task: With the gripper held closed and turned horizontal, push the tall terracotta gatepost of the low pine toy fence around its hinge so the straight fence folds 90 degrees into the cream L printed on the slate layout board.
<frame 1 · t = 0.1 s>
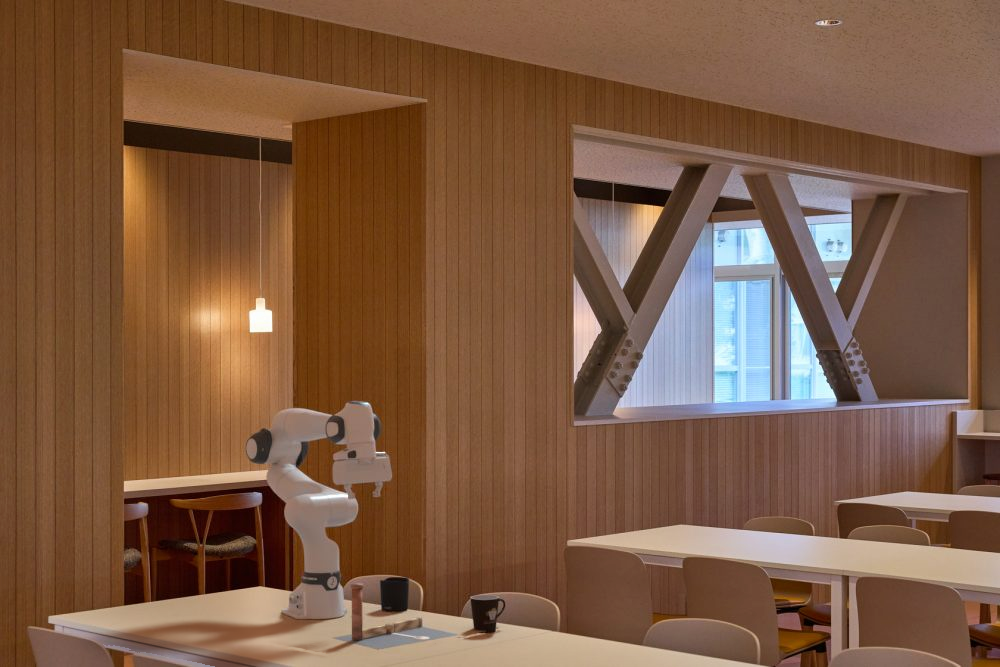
hand: (364, 498, 383), 39 cm above the table, tool pointing down, fingers open, 8 cm apart
coffee mug: (489, 631, 371), on the table
fence gate: (368, 609, 359), point 9 cm above the table, hinge at 0.0°
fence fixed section: (389, 632, 365), resting on layout board
pen holder: (394, 610, 408), on the table
layout board: (395, 638, 360), on the table
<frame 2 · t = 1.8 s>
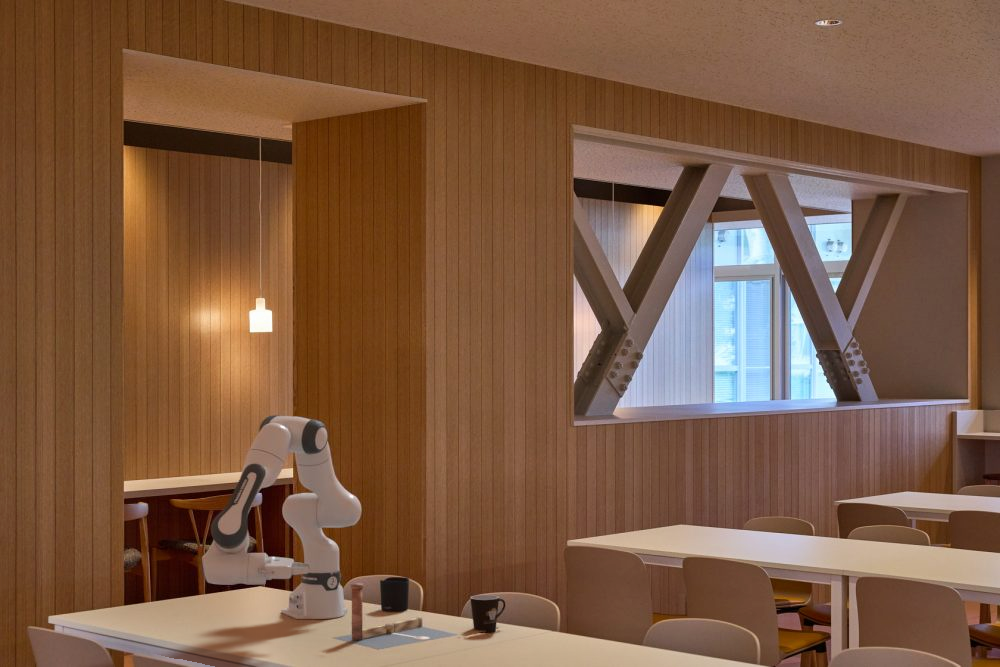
hand: (308, 568, 355), 21 cm above the table, tool horizontal, fingers open, 8 cm apart
nothing on the table moved.
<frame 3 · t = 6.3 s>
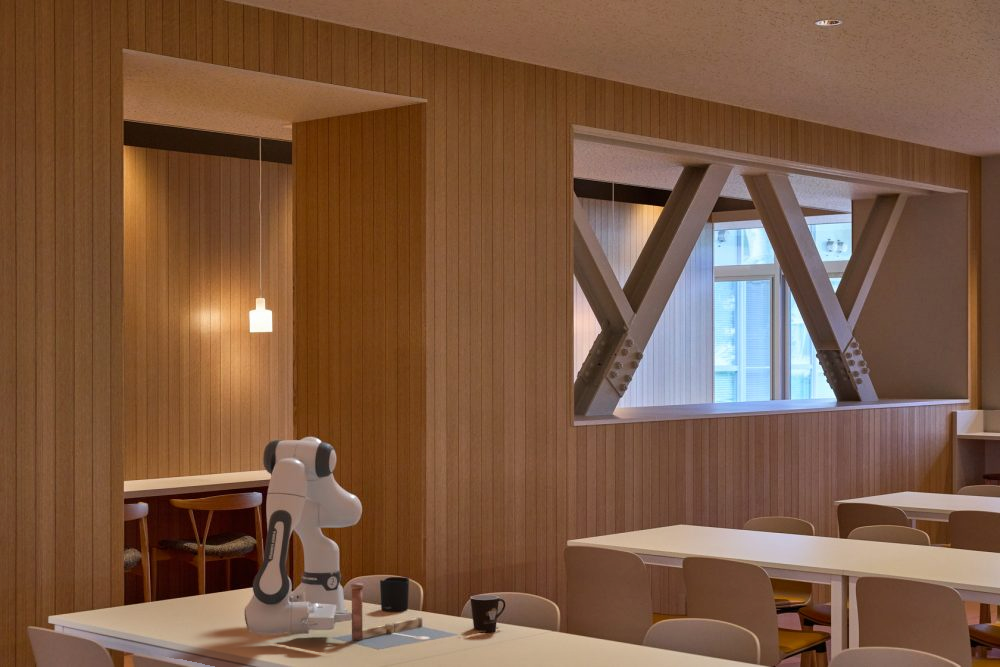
hand: (351, 616, 355), 8 cm above the table, tool horizontal, fingers closed, pressing on fence gate
fence gate: (368, 609, 359), point 9 cm above the table, hinge at 0.0°, touching gripper
everything else where it was.
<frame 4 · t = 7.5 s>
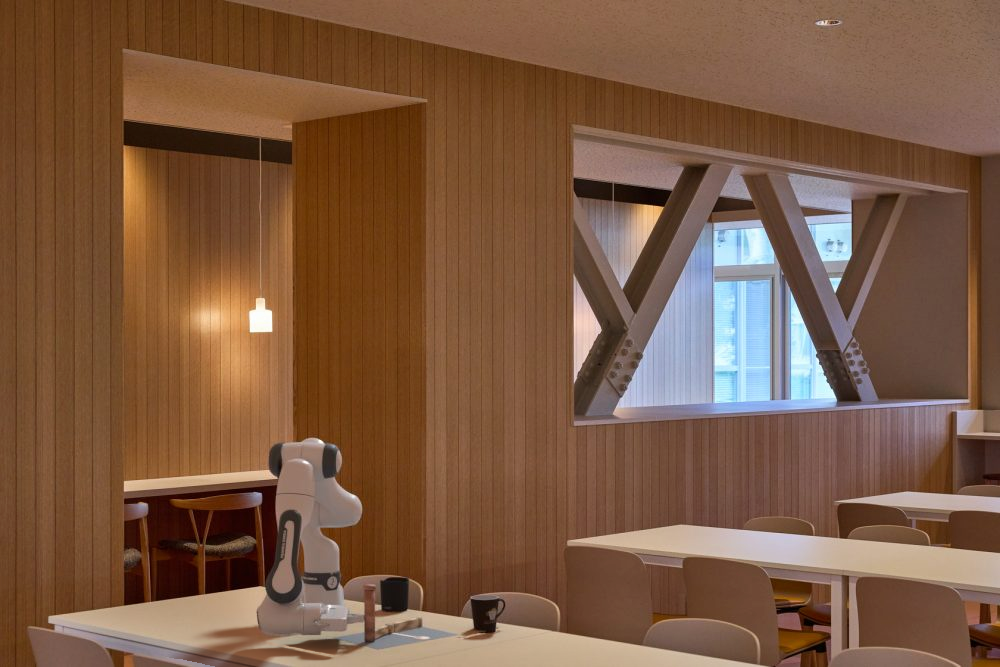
hand: (364, 618, 353), 8 cm above the table, tool horizontal, fingers closed, pressing on fence gate
fence gate: (377, 610, 358), point 9 cm above the table, hinge at 19.7°, touching gripper
everything else where it was.
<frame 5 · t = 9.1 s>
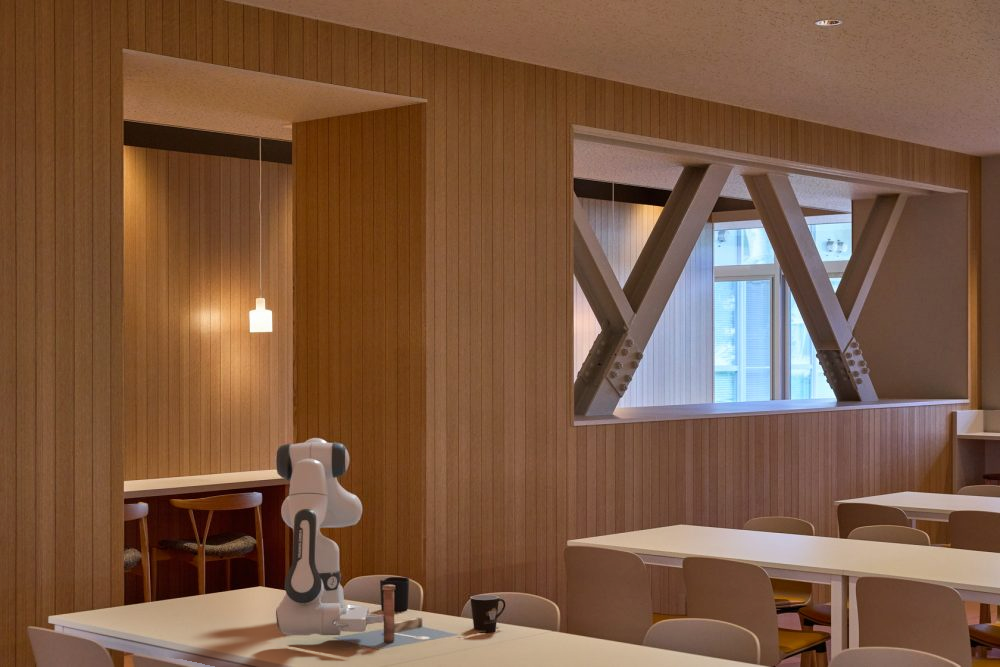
hand: (383, 618, 352), 8 cm above the table, tool horizontal, fingers closed, pressing on fence gate
fence gate: (389, 610, 357), point 9 cm above the table, hinge at 44.4°, touching gripper
everything else where it was.
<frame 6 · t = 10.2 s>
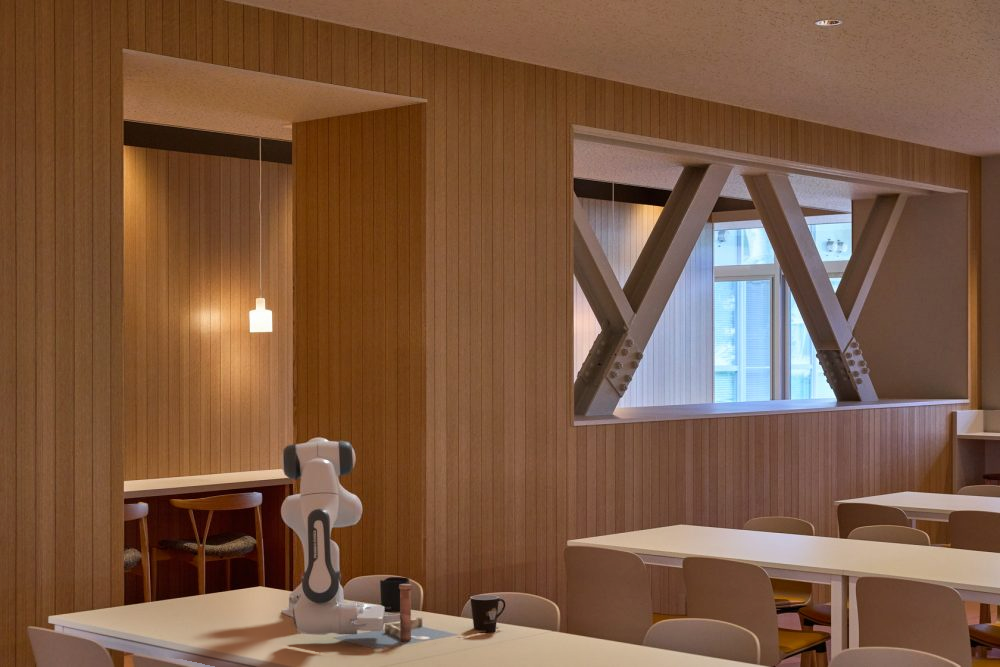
hand: (400, 617, 353), 7 cm above the table, tool horizontal, fingers closed, pressing on fence gate
fence gate: (399, 609, 358), point 9 cm above the table, hinge at 65.6°, touching gripper
everything else where it was.
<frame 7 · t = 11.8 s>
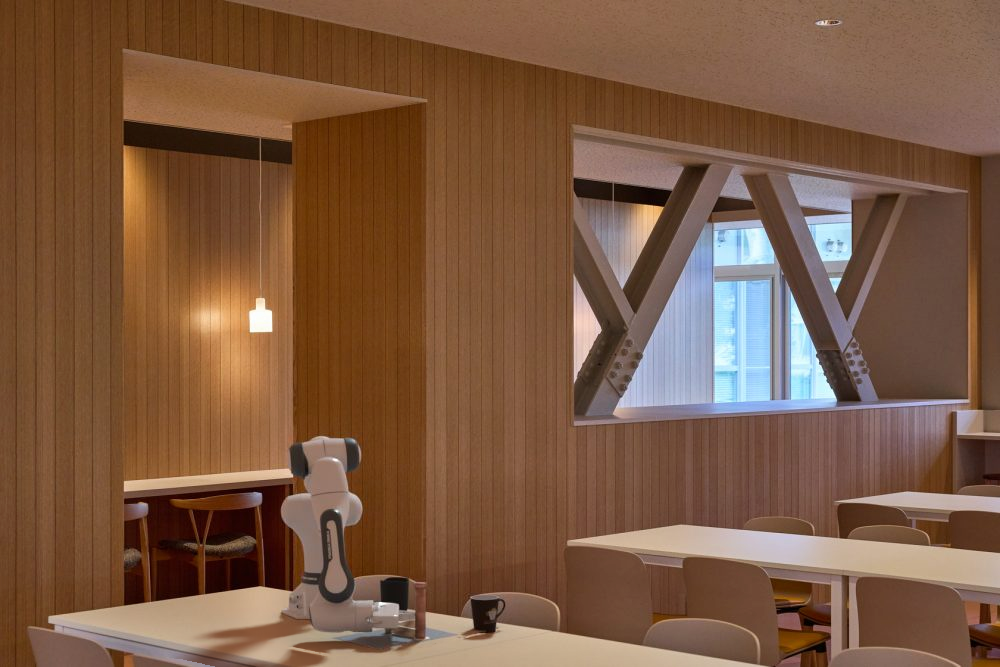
hand: (415, 615, 357), 7 cm above the table, tool horizontal, fingers closed, pressing on fence gate
fence gate: (409, 608, 360), point 9 cm above the table, hinge at 87.8°, touching gripper
everything else where it was.
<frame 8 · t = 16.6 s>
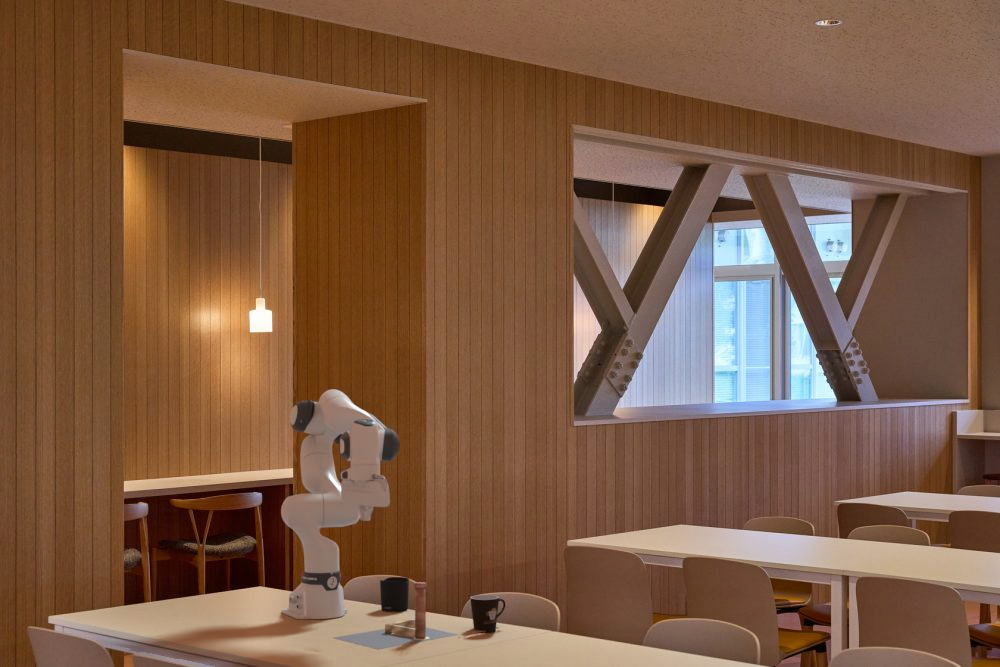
hand: (365, 520, 372), 33 cm above the table, tool pointing down, fingers closed
fence gate: (409, 608, 360), point 9 cm above the table, hinge at 87.8°
everything else where it was.
at the end: fence gate at +88° (first picture: +0°) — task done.
